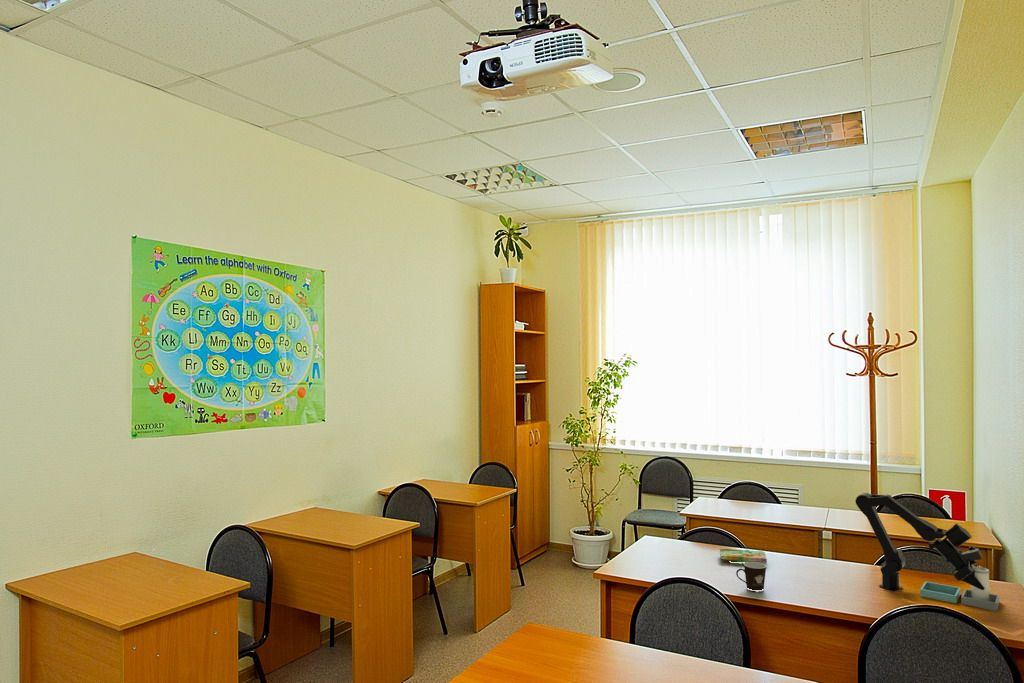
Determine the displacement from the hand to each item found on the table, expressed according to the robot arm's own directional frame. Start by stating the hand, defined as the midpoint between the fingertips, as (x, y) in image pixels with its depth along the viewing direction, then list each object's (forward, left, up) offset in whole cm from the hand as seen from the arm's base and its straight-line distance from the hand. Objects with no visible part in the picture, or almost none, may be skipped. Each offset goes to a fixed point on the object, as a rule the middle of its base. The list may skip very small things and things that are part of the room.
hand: (984, 587), depth 259 cm
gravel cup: (-1, +1, -6) cm, 6 cm away
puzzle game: (-37, +85, -8) cm, 93 cm away
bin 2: (-1, +1, -7) cm, 7 cm away
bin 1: (-5, +14, -7) cm, 16 cm away
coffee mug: (-63, +57, -7) cm, 85 cm away
